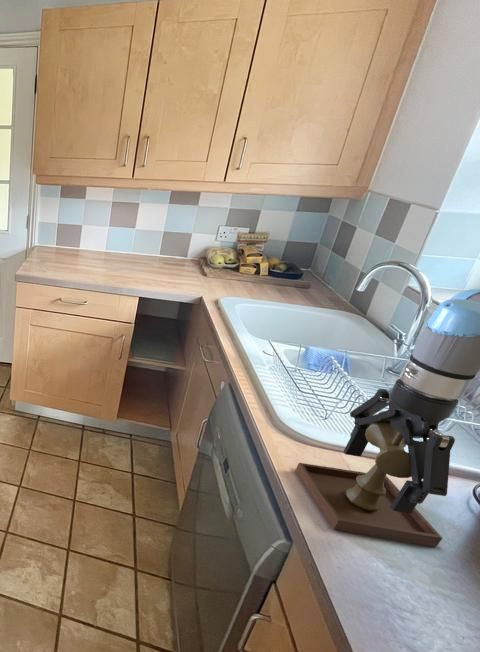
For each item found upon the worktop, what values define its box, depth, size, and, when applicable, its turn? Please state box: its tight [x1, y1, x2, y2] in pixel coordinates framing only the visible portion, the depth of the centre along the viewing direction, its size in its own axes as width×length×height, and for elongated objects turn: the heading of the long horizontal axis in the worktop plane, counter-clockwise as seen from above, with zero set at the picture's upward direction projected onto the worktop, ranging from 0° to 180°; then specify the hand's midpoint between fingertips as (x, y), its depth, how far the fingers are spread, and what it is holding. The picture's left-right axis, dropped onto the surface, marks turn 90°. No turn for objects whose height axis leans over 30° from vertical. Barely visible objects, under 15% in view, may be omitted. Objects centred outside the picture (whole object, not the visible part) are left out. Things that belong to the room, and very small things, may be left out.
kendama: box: [346, 423, 412, 512], centre depth 77 cm, size 6×10×20 cm, turn 147°
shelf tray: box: [294, 462, 443, 548], centre depth 81 cm, size 16×14×2 cm
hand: (374, 480), depth 79 cm, fingers open, 13 cm apart
